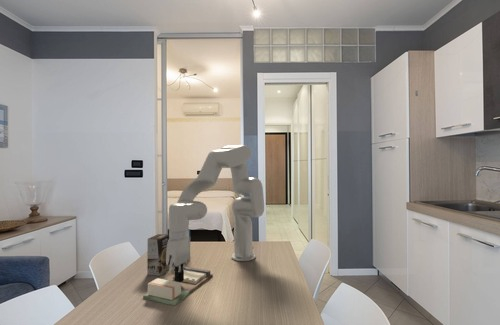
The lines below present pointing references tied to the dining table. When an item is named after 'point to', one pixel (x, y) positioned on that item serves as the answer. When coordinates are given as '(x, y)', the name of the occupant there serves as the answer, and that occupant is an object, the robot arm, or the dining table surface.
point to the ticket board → (185, 284)
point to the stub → (164, 288)
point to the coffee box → (157, 254)
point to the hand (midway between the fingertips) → (179, 280)
